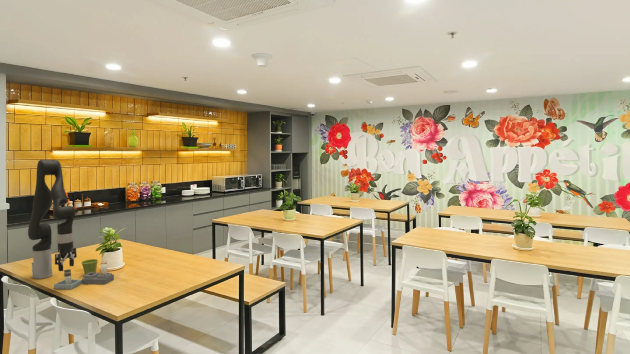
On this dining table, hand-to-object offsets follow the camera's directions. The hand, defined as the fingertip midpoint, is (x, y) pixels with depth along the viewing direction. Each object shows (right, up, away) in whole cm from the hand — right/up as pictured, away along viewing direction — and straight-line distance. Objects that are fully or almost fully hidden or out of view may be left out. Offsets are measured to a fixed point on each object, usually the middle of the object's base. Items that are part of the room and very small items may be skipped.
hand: (66, 268), depth 217 cm
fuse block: (+13, -10, +9) cm, 19 cm away
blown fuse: (0, -10, +1) cm, 10 cm away
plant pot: (+1, -9, +21) cm, 23 cm away
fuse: (+17, -7, +8) cm, 20 cm away
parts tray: (0, -11, +1) cm, 11 cm away
